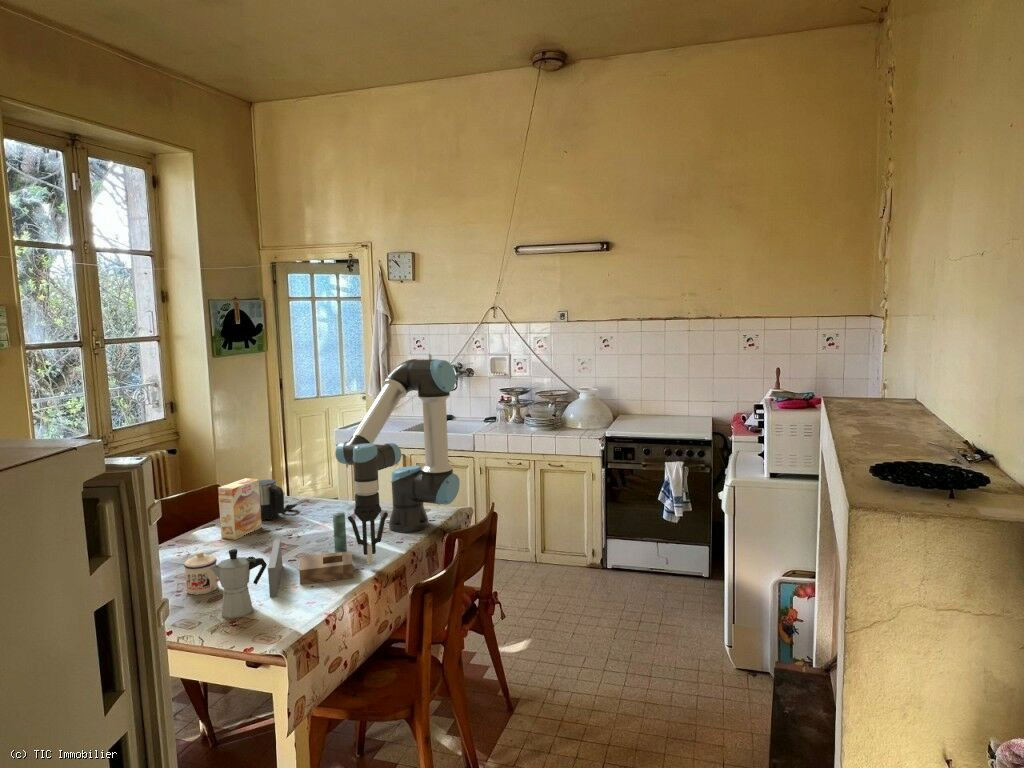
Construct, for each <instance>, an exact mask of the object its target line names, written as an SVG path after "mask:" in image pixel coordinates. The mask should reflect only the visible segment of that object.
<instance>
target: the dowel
mask: <svg viewBox="0 0 1024 768" xmlns="http://www.w3.org/2000/svg"><path fill="white" fill-rule="evenodd" d="M332 523H333V525H332V526H333V542H334V543H333V544H334V553H338V552H347V551H348V548H347V530H346V529H347V528H346V514H345V512H335V513H333V514H332Z"/></svg>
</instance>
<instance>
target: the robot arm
mask: <svg viewBox="0 0 1024 768" xmlns="http://www.w3.org/2000/svg"><path fill="white" fill-rule="evenodd" d="M456 378H457V377H456V371H455V368H454V367H453V365H452V364H451V363H450V362H449V361H447V360H444V359H438V358H437V359H436V358H435V359H434V358H433V359H432V358H431V359H430V358H429V359H427V358H425V359H417V358H416V359H415V358H414V359H413V358H412V359H408V360H405V361H403V362H402V363H399V364H398V365H397V366H396V367H394V369H393V370H391V371H390V372H389V373H388V375H387V376H386V378H384V380H383V382H382V388H381V390H380V391H379V393H378V395H377V396H376V398H375V400H374V401H373V403H372V404H371V405H370V408H369V409H367V412H366V413H365V415H364V417H363V418H362V420H361V421H360V423H359V424H358V426H357V428H356V429H355V431H354V432H353V434H352V435H351V437H350V438H349V440H348V441H341V442H340V443H338V445H337V446H336V448H335V453H334V455H335V458H336V461H337V462H339V463H340V464H343V465H347V466H351V465H352V466H353V475H354V481H353V482H354V483H353V484H354V493H355V494H354V500H355V501H354V502H355V503H354V504H355V508H354V509H353V512H352V513H351V514H348V515H347V520H348V521H349V522H350V523H351V526H352V530H353V533H354V536H355V539H356V542H357V544H358V545H362V547H363V550H362V551H363V555H364V556H366V559H367V566H373V565H374V563H373V562H374V561H373V560H374V559H373V555H376V553H377V551H376V545H377V544H378V543H380V542H381V541H382V536H383V533H384V528H385V523H386V519H387V518H388V516H389V512H388V511H387V510H383V509H382V507H381V505H380V492H379V490H380V488H379V487H380V485H379V471H381V470H384V469H387V468H391V467H393V466H395V465H397V464H398V463H400V461H401V458H402V450H401V448H400V446H399V445H398V444H397V443H393V442H389V443H384V444H375V443H374V442H375V441H376V440H377V438H378V436H379V435H380V433H381V431H382V430H383V428H384V427H385V425H386V423H387V421H388V420H389V419H390V417H391V415H392V414H393V412H394V410H395V409H396V407H397V406H398V404H399V403H400V400H401V399H404V398H405V397H406V396H407V395H408V393H410V392H411V391H417V395H418V399H420V400H421V401H422V418H423V440H424V442H423V443H424V462H425V463H424V465H423V467H422V466H421V465H418V464H415V465H407V466H404V467H398V468H396V469H394V470H393V471H391V481H390V482H391V493H392V494H391V495H392V509H391V510H392V511H391V514H390V516H389V521H388V527H389V529H390V531H393V532H397V533H412V532H413V531H414V532H419V531H422V530H425V529H427V528H428V527H429V526H428V525H430V524H429V523H430V522H429V517H428V515H427V511H426V509H425V506H424V503H428V504H434V505H435V504H436V505H444V506H445V505H450V504H452V503H453V502H454V501H455V500H456V498H457V496H458V493H459V490H460V485H461V484H460V481H461V480H460V478H459V476H458V474H456V473H454V471H453V469H454V467H453V466H452V465H451V464H450V463H449V447H448V446H449V445H448V444H449V443H448V424H447V423H448V422H447V421H448V419H447V400H448V398H450V396H451V395H450V394H451V392H452V391H453V390H454V388H455V386H456V383H457V382H456V381H457V379H456ZM378 516H380V520H379V523H378V525H379V526H378V529H377V530H378V531H377V535H376V530H375V529H376V524H375V520H376V519H377V518H378ZM356 517H357V518H358V519H359V521H361V525H362V527H361V529H362V531H361V532H362V539H361V536H360V532H359V529H358V525H357V523H356V522H357V521H356ZM367 522H369V524H370V526H369V527H370V542H368V533H367V531H368V530H367ZM426 527H427V528H426ZM424 528H425V529H424ZM418 530H419V531H418Z"/></svg>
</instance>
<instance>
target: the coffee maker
mask: <svg viewBox="0 0 1024 768" xmlns="http://www.w3.org/2000/svg"><path fill="white" fill-rule="evenodd" d="M228 554H229V558H228V559H227V558H226V559H224V560H221V561H219V563H218V564H216V566H213V567H211V568H209V569H211V570H212V571H213V572H214V573H215V574H216V576H217V579H218V578H219V580H220V581H219V582H220V587H222V588H223V595H222V606H221V617H222V618H225V619H230V620H233V619H238V618H243V617H246V616H248V615H249V614H251V613H253V612H254V608H253V604H252V599H251V595H250V591H249V586H248V585H249V583H250V574H251V570H253V569H255V568H257V567H258V566H261V567H260V568H259V571H258V573H257V574H256V576H255V578H254V579H253V584H254V585H255V586H257V585H258V582H259V581H260V579H261V577H262V576H263V573H264V571H265V569H266V568H267V567H268V565H267V564H268V563H266V561H265V559H264V558H262V557H257V558H256V557H254V556H248V557H246V556H244V557H243V556H238V549H236V548H232V549H230V550H228Z"/></svg>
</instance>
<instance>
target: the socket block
mask: <svg viewBox="0 0 1024 768" xmlns="http://www.w3.org/2000/svg"><path fill="white" fill-rule="evenodd" d="M353 565H354V564H353V554H352V550H347V552H338V553H335V552H333V553H323V554H312V555H306V556H305V555H304V556H300V559H299V571H298V573H299V574H298V575H299V584H300V585H306V584H313V583H323V582H331V581H335V580H334V579H339V580H344V579H343V578H348V579H353V578H354V566H353ZM352 577H353V578H352ZM330 580H331V581H330ZM322 581H323V582H322Z"/></svg>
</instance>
